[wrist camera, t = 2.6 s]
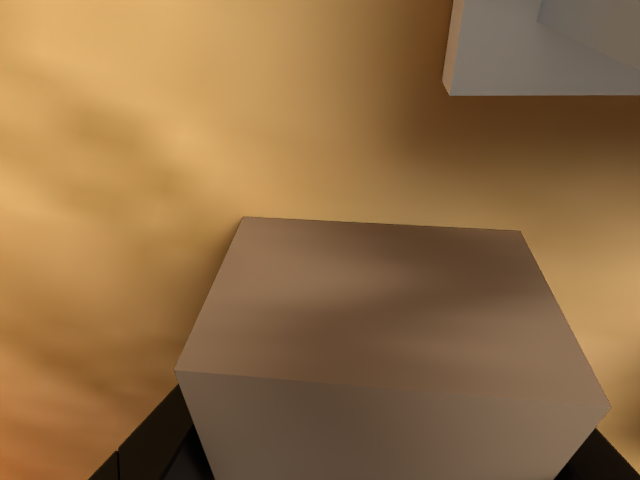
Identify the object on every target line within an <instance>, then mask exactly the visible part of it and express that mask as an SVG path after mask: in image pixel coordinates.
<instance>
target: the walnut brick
mask: <svg viewBox="0 0 640 480" xmlns="http://www.w3.org/2000/svg"><path fill="white" fill-rule="evenodd" d="M174 372H175V375H176V378H177V380H178V383H179V386H180V388H181V391H182V393H183V396H184V399H185V401H186V404H187V407H188V409H189V412H190V415H191V417H192V420H193V422H194V425H195V428H196V430H197V433H198V436H199V438H200V441H201V444H202V446H203V449H204V451H205V454H206V457H207V459H208V462H209V465H210V467H211V470H212V473H213V475H214V478H215V480H553V479H554V478H555V477H556V476H557V474H558V473H559V472H560V471H561V470H562V468H563V467H564V466H565V465H566V463H567V462H568V461H569V460H570V458H571V457H572V456H573V455H574V453H575V452H576V451H577V450H578V448H579V447H580V446H581V445H582V444H583V442H584V441H585V440H586V439H587V437H588V436H589V435H590V434H591V432H592V431H593V430H594V429H595V427H596V426H597V425H598V424H599V422H600V421H601V420H602V419H603V417H604V416H605V415H606V414H607V413H608V411H609V410H610V409H611V408H612V407H611V405H610V403H609V401H608V399H607V397H606V395H605V393H604V391H603V390H602V388H601V386H600V384H599V382H598V380H597V378H596V376H595V374H594V372H593V370H592V368H591V366H590V365H589V363H588V361H587V359H586V357H585V355H584V353H583V351H582V349H581V347H580V345H579V343H578V341H577V339H576V338H575V336H574V334H573V332H572V330H571V328H570V326H569V324H568V322H567V320H566V318H565V316H564V314H563V313H562V311H561V309H560V307H559V305H558V303H557V301H556V299H555V297H554V295H553V293H552V291H551V289H550V288H549V286H548V284H547V282H546V280H545V278H544V276H543V274H542V272H541V270H540V268H539V266H538V264H537V263H536V261H535V259H534V257H533V255H532V253H531V251H530V249H529V247H528V245H527V243H526V241H525V239H524V238H523V236H522V234H521V232H520V231H509V230H490V229H470V228H451V227H432V226H412V225H393V224H374V223H354V222H335V221H316V220H296V219H277V218H258V217H243V219H242V221H241V223H240V225H239V227H238V230H237V232H236V234H235V236H234V238H233V241H232V243H231V245H230V247H229V249H228V252H227V254H226V256H225V258H224V260H223V263H222V265H221V267H220V269H219V271H218V274H217V276H216V278H215V280H214V282H213V285H212V287H211V289H210V291H209V293H208V296H207V298H206V300H205V302H204V304H203V307H202V309H201V311H200V313H199V315H198V317H197V320H196V322H195V324H194V326H193V328H192V331H191V333H190V335H189V337H188V339H187V342H186V344H185V346H184V348H183V350H182V353H181V355H180V357H179V359H178V361H177V364H176V366H175V368H174Z"/></svg>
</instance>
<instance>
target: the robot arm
mask: <svg viewBox="0 0 640 480" xmlns="http://www.w3.org/2000/svg"><path fill="white" fill-rule="evenodd" d="M88 480H215V478H214V475H213V473H212V470H211V467H210V465H209V462H208V459H207V457H206V454H205V451H204V449H203V446H202V444H201V441H200V438H199V436H198V433H197V430H196V428H195V425H194V422H193V420H192V417H191V415H190V412H189V409H188V407H187V404H186V401H185V399H184V396H183V393H182V391H181V388H180V386H179V384H178V385H177V386H176V387H175V388H174V389H173V390H172V391H171V392H170V393H169V394H168V395H167V396H166V397H165V398H164V400H163V401H162V402H161V403H160V404H159V405H158V406H157V407H156V408H155V409H154V410H153V411H152V412H151V413H150V415H149V416H148V417H147V418H146V419H145V420H144V421H143V422H142V423H141V424H140V425H139V426H138V427H137V428H136V429H135V431H134V432H133V433H132V434H131V435H130V436H129V437H128V438H127V439H126V440H125V441H124V442H123V443H122V444H121V445H120V447H119V448H118V451H115V452H114V453H113V454H112V455H111V456H110V457H109V458H108V459H107V460H106V461H105V462H104V463H103V465H102V466H101V467H100V468H99V469H98V470H97V471H96V472H95V473H94V474H93V475H92V476H91V477H90V478H89V479H88ZM553 480H640V475H639V474H638V473H637V472H636V471H635V469H634V468H633V467H632V466H631V465H630V464H629V463H628V462H627V461H626V460H625V459H624V458H623V457H622V455H621V454H620V453H619V452H618V451H617V450H616V449H615V448H614V447H613V446H612V445H611V444H610V443H609V441H608V440H607V439H606V438H605V437H604V436H603V435H602V434H601V433H600V432H599V431H598V430H597V429H596V427H595V429H594V430H593V431H592V432H591V434H590V435H589V436H588V437H587V439H586V440H585V441H584V442H583V444H582V445H581V446H580V447H579V448H578V450H577V451H576V452H575V453H574V455H573V456H572V457H571V458H570V460H569V461H568V462H567V463H566V465H565V466H564V467H563V468H562V470H561V471H560V472H559V473H558V474H557V476H556V477H555V478H554V479H553Z"/></svg>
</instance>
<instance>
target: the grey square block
mask: <svg viewBox="0 0 640 480" xmlns="http://www.w3.org/2000/svg"><path fill="white" fill-rule="evenodd" d="M442 82H443V84H444V86H445V88H446V90H447V92H448V94H449V96H531V95H640V0H454V2H453V9H452V15H451V22H450V29H449V36H448V43H447V50H446V57H445V64H444V70H443V77H442Z"/></svg>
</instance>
